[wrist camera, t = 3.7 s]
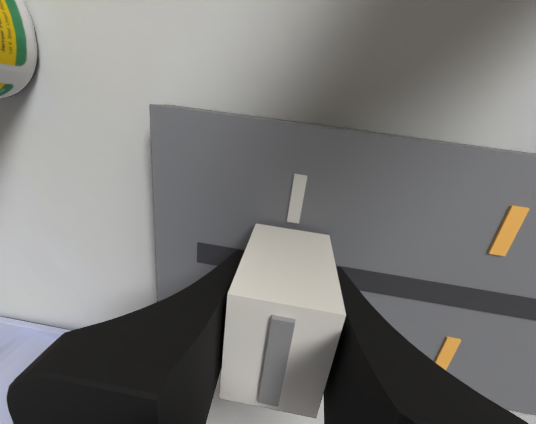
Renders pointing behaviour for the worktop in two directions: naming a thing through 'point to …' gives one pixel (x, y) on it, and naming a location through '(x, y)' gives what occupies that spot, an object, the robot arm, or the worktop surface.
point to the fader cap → (282, 321)
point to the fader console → (367, 228)
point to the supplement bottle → (16, 47)
